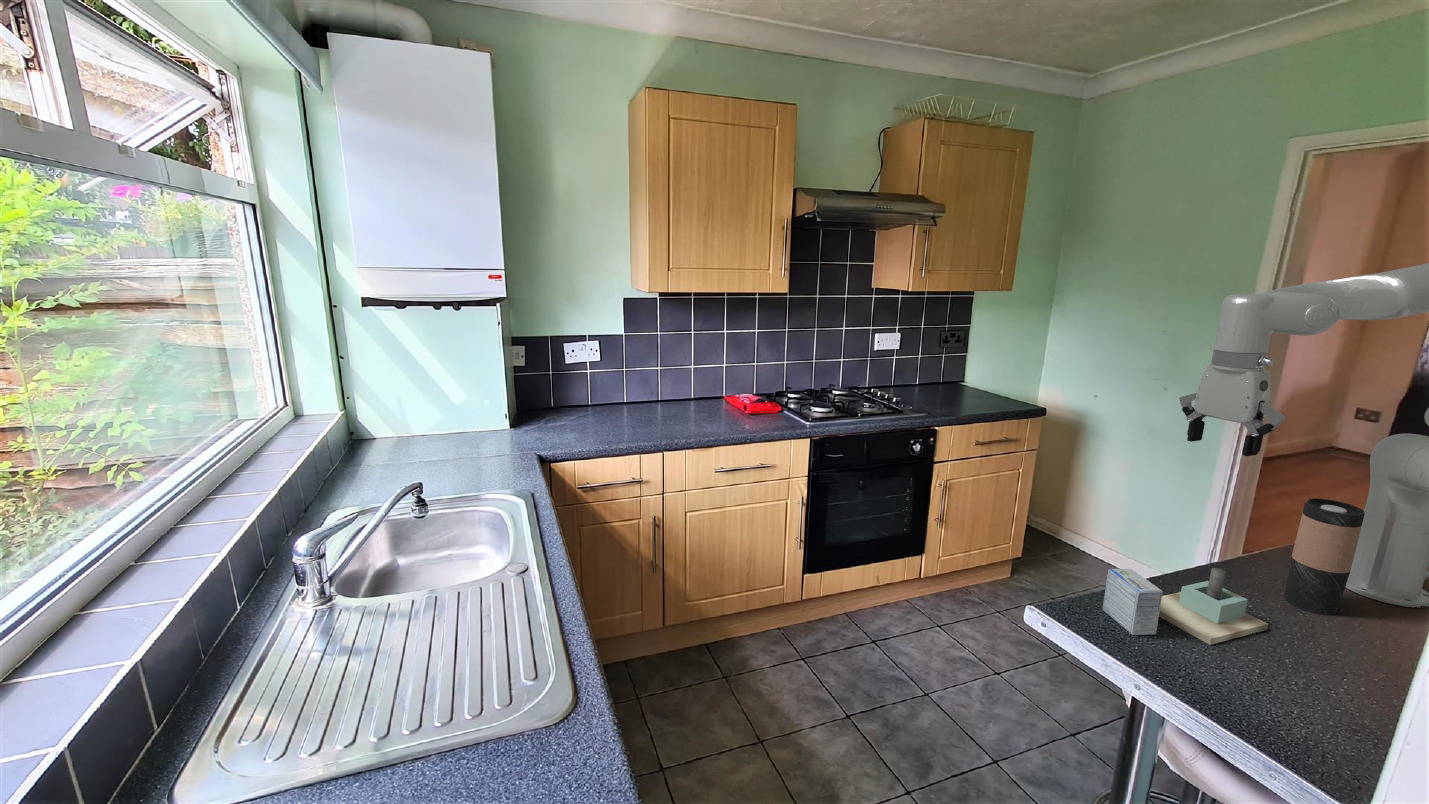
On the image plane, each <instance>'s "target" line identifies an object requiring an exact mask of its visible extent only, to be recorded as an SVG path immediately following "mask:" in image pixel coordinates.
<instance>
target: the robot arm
mask: <svg viewBox="0 0 1429 804" xmlns="http://www.w3.org/2000/svg"><path fill="white" fill-rule="evenodd" d="M1220 308H1221V309H1220V313H1219V314H1220V315H1219V319H1218V325H1217V330H1216V331H1217V332H1216V335H1215V341H1214V346H1213V350H1212V351H1213V352H1212V357H1211V361H1210V362H1211V363H1210V364H1208V365H1207V366H1206V367H1205V370H1204V372H1203V374H1202V376H1201V379H1200V381H1199V384H1198V387H1197V391H1196V392H1194V393H1189V394H1188V395H1187V394H1186V395H1183V396H1180V397H1179V398H1178V399H1179V402H1180V406H1181V407H1182V408H1181V410H1182V412H1183V413H1184V415H1185V416H1186V420H1187V422H1189V424H1188V427H1187V432H1186V433H1187V439H1186V440H1187V442H1198V441H1202V440H1203V434H1204V430H1205V425H1206V422H1205V421H1204V419H1205V418H1206V417H1209V418H1214V419H1219V420H1223V421H1229V422H1234V423H1238V424H1242V425H1244V427H1245V428H1246V430H1247V431H1248V433H1249V434H1247V435H1245V437H1244V443H1243V446H1242V447H1243V448H1242V450H1241V451H1242V452H1241V454H1242V456H1244V457H1251V456H1258V454H1259V453H1260V451H1261V448H1262V444H1263V440H1264V436H1267V435H1268V434H1269V433H1271V432H1273V431H1276V430H1277V429H1278V427H1279V426H1280V425H1282V424H1283V422H1285V420H1286V419H1287V417H1286V416H1285V415H1284V414H1282V413H1281V412H1280V411H1278V410H1277V409H1275V408H1274V407H1272V405H1270V401H1271V386H1272V385H1271V383H1272V382H1271V373H1270V370H1268V369H1267V370H1266V369H1265V368H1266V367H1267V366H1268V367H1269V366H1270V367H1271V366H1273V365H1274V364H1275V359H1274V358H1270V357H1269V353H1268V352H1269V348H1270V343H1271V338H1272V334H1283V335H1289V336H1290V335H1291V336H1299V337H1302V336H1303V337H1306V336H1307V337H1308V336H1314V335H1318V334H1321V333H1324V332H1326V331H1328V330H1329V329H1332V327H1333V326H1335V324H1336V323H1337V322H1338V321H1339V320H1340V321H1341V320H1344V321H1345V320H1346V321H1347V320H1349V321H1379V320H1393V319H1401V318H1404V317H1405V318H1406V317H1409V316H1414V315H1421V314H1427V313H1429V263H1424V264H1417V265H1413V266H1409V267H1403V268H1399V269H1393V270H1388V271H1383V272H1376V273H1369V274H1362V275H1361V274H1360V275H1355V276H1354V275H1353V276H1350V277H1349V276H1348V277H1343V278H1336V279H1329V280H1323V281H1322V280H1321V281H1313V282H1308V283H1303V284H1297V285H1292V286H1286V287H1282V288H1281V287H1280V288H1276V289H1271V290H1267V291H1264V292H1262V293H1234V294H1229V295H1228V296H1226V297H1225V298H1224V299H1223V301H1222V304H1221V307H1220ZM1193 401H1194V406H1192V405H1193V404H1192V403H1193ZM1267 418H1269V420H1268V421H1267V423H1265V424H1264V423H1263V422H1265V421H1266V420H1267ZM1424 422H1425V424H1427V426H1428V427H1429V407H1428V408H1427V410H1426V411H1425V412H1424ZM1369 473H1370V479H1369V480H1370V481H1369V482H1370V483H1369V490H1368V495H1367V498H1366V502H1365V503H1366V504H1365V506H1364V510H1363V511H1364V512H1365V515H1364V519H1363V523H1362V527H1361V531H1360V535H1359V539H1358V543H1357V547H1356V551H1355V555H1354V559H1353V563H1352V567H1351V571H1350V574H1349V577H1348V580H1347V584H1346V587H1345V589H1348V590H1350V591H1351V592H1353V593H1356V594H1359V595H1361V596H1364V597H1365V598H1369V599H1372V600H1375V601H1378V602H1382V603H1386V604H1390V605H1394V606H1395V605H1396V606H1399V607H1406V608H1415V607H1417V606H1419V605H1424V606H1425V607H1424V608H1427V607H1429V592H1428V591H1426V590H1425V589H1423V586H1424V583H1425V580H1426V579H1428V578H1429V436H1428V435H1424V434H1423V435H1422V434H1415V433H1398V434H1392V435H1389V436H1387V437H1385V438H1382V439H1381V440H1379V441H1378V443H1376V444H1375V445H1374V447H1373V448H1372V451H1371V453H1370V456H1369ZM1417 608H1418V607H1417Z"/></svg>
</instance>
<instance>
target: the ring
mask: <svg viewBox="0 0 1429 804" xmlns="http://www.w3.org/2000/svg"><path fill="white" fill-rule="evenodd" d="M1208 584H1209V580H1205V581H1201V582H1196V583H1192V584H1187V585H1184V586H1181V591H1180V592H1181V595H1180V600H1179V604H1181V605H1183V606H1185V607H1187V608H1189V609H1191V610H1192V611H1194V612H1196V613H1198V614H1200V615H1202V616H1204V617H1206V618H1208V619H1210V620H1212V621H1214V622H1215V623H1217V624H1218V623H1222V622H1226V621H1230V620H1234V619H1238V618H1242V617H1244V615H1245V613H1246V610H1247V605H1248V601H1249V599H1247V598H1245V597H1243V596H1241V595H1239V594H1238V593H1237V594H1236V593H1235V592H1232V591H1230V590H1228V589H1226V588H1224V587H1223V590H1222V595H1221V599H1220V601H1218V600H1216V599H1214V598H1212V597H1210V596H1208V595H1206V593H1207V589H1208Z"/></svg>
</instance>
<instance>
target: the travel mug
mask: <svg viewBox="0 0 1429 804" xmlns="http://www.w3.org/2000/svg"><path fill="white" fill-rule="evenodd" d="M1303 506H1304V507H1303V509H1302V513H1301V517H1300V522H1299V526H1298V529H1297V532H1296V533H1297V534H1296V538H1295V541H1294V544H1293V549H1292V553H1291V557H1290V561H1289V567H1288V573H1287V578H1286V582H1285V590H1284V595H1283V598H1284V599H1285V602H1287V603H1288V604H1291V605H1292V606H1294V607H1296V608H1299V609H1301V610H1304V611H1306V612H1310V613H1313V614H1317V613H1318V615H1325V616H1332V615H1336V614H1337V612H1338V611H1339V607H1340V605H1341V602H1342V599H1343V595H1344V592H1345V589H1346V584H1347V580H1348V577H1349V574H1350V571H1351V567H1352V563H1353V559H1354V555H1355V551H1356V547H1357V543H1358V539H1359V535H1360V531H1361V527H1362V523H1363V519H1364V515H1365V512H1364V510H1363V509H1362V508H1360V507H1358V506H1356V505H1353V504H1350V503H1346V502H1343V501H1339V500H1334V499H1327V498H1317V497H1315V498H1314V497H1313V498H1309V499H1308V500H1307V501H1306V502H1304V505H1303Z"/></svg>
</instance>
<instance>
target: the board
mask: <svg viewBox="0 0 1429 804" xmlns="http://www.w3.org/2000/svg"><path fill="white" fill-rule="evenodd" d="M1226 575H1227V571H1226V570H1224V569H1223V568H1219V567H1211V570H1210V575H1209V580H1208V581H1209V584H1208V589H1207V593H1206V595H1208V596H1210V597H1212V598H1214V599H1216V600H1218V601H1220V599H1221V595H1222V590H1223V588H1224V584H1225V580H1226ZM1180 595H1181V591H1179V592H1174V593H1171V594H1165V595H1162V600H1161V606H1160V612H1159V617H1160V618H1161V619H1163V620H1164V621H1166V622H1168V623H1169V624H1172V625H1173V626H1175V627H1177V628H1179V629H1181V630H1182V631H1184V632H1185V633H1187V634H1189V635H1191V636H1193V637H1194V638H1196V639H1198V640H1200V641H1202V642H1204V643H1205V644H1207V645H1209V646H1211V645H1215V644H1218V643H1223V642H1225V641H1230V640H1234V639H1238V638H1241V637H1245V636H1249V635H1253V634H1256V632H1257V633H1260V632H1264V631H1267V630H1268V627H1269V623H1267V622H1265V621H1263V620H1261V619H1259V618H1257V617H1255V616H1253V615H1251V614H1249V613H1247V612H1245V615H1244V617H1242V618H1238V619H1234V620H1230V621H1226V622H1222V623H1218V624H1217V623H1215V622H1214V621H1212V620H1210V619H1208V618H1206V617H1204V616H1202V615H1200V614H1198V613H1196V612H1194V611H1192V610H1191V609H1189V608H1187V607H1185V606H1183V605H1181V604H1179V600H1180ZM1252 633H1253V634H1252Z"/></svg>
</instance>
